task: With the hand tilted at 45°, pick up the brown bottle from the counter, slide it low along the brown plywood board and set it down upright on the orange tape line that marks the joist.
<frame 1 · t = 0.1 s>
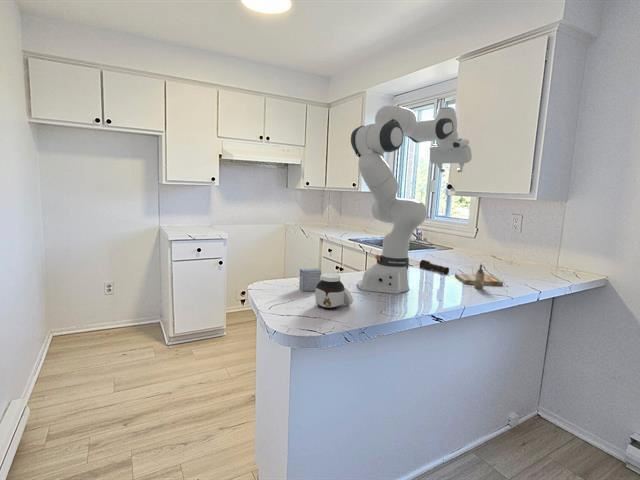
hand: (451, 172, 174), 52 cm above the worktop, tool tilted 20°, fingers open, 8 cm apart
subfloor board: (477, 281, 177), on the worktop
medicine box: (309, 290, 151), on the worktop
hand tool: (432, 271, 196), on the worktop
spread jar: (334, 306, 132), on the worktop
brown bottle: (478, 288, 164), on the worktop
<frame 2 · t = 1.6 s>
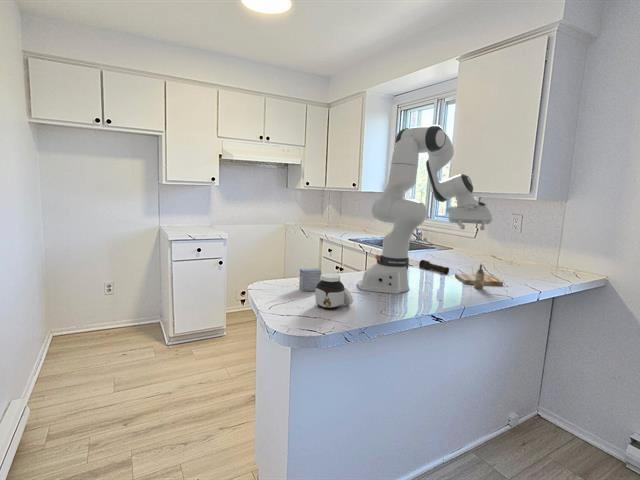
hand: (472, 229, 174), 25 cm above the worktop, tool tilted 45°, fingers open, 8 cm apart
nothing on the worktop moved.
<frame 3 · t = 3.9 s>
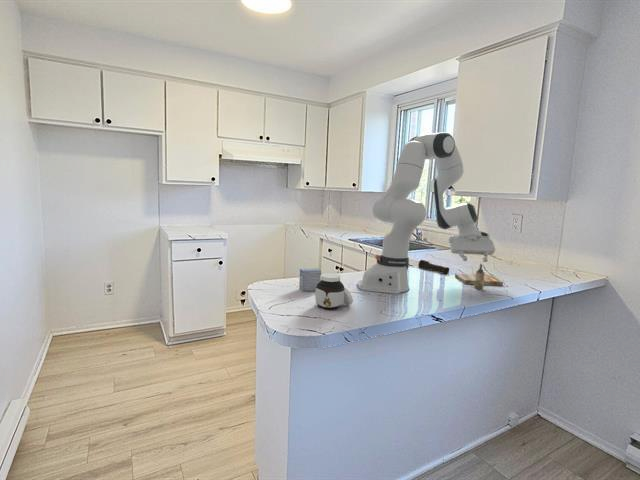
hand: (475, 260, 169), 11 cm above the worktop, tool tilted 45°, fingers open, 8 cm apart
nothing on the worktop moved.
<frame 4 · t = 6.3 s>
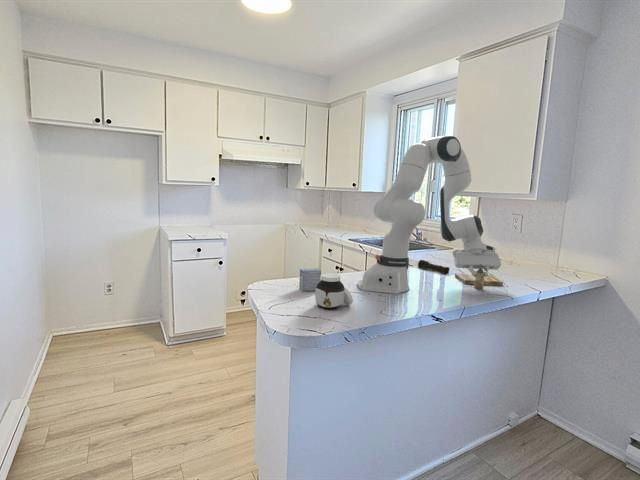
hand: (480, 275, 163), 6 cm above the worktop, tool tilted 45°, fingers closed on brown bottle, 4 cm apart
brown bottle: (478, 288, 164), on the worktop, touching gripper
everything else where it was.
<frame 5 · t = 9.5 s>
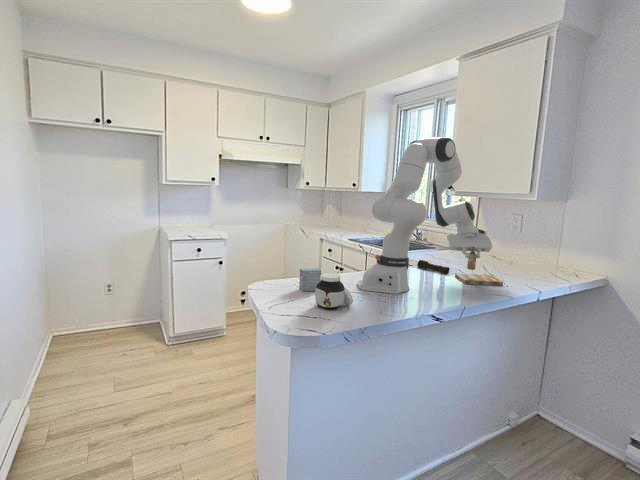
hand: (472, 257, 175), 12 cm above the worktop, tool tilted 45°, fingers closed on brown bottle, 4 cm apart
brown bottle: (471, 268, 176), point 6 cm above the worktop, touching gripper
everything else where it was.
when the fingers open (9 cm above the worktop, at t = 12.6 s): brown bottle drops 1 cm, resting on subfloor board.
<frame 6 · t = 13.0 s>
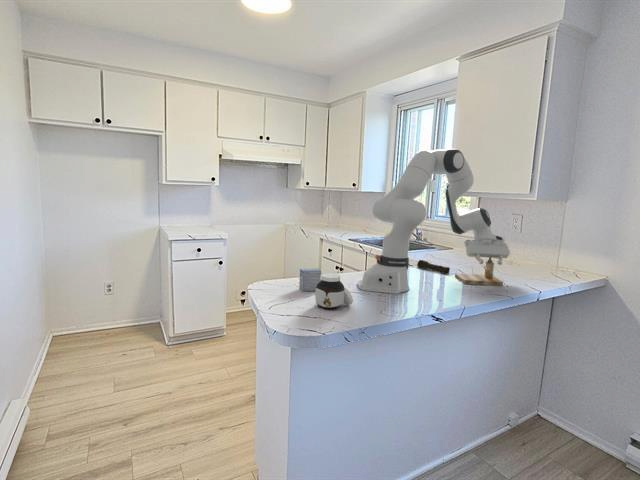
hand: (490, 263, 175), 9 cm above the worktop, tool tilted 45°, fingers open, 8 cm apart
brown bottle: (488, 277, 177), point 2 cm above the worktop, touching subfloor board
everything else where it was.
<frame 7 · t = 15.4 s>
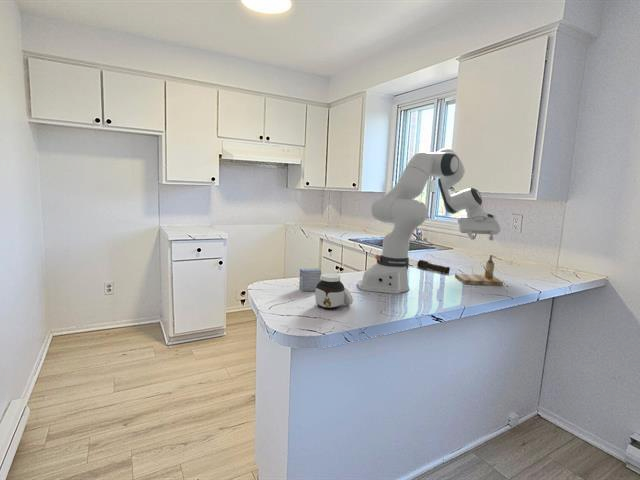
hand: (482, 239, 186), 19 cm above the worktop, tool tilted 45°, fingers open, 8 cm apart
nothing on the worktop moved.
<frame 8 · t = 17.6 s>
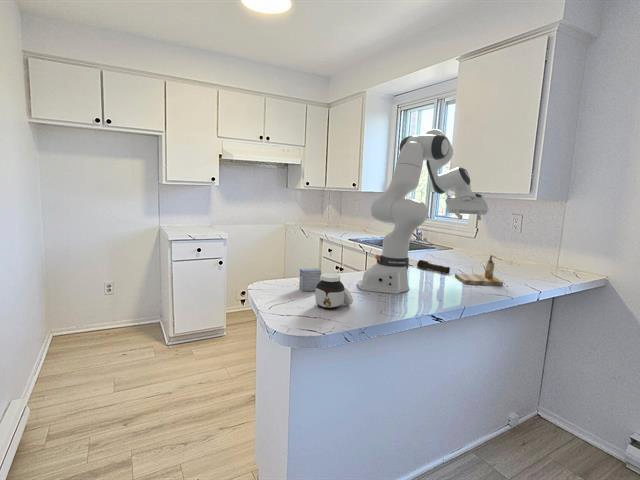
hand: (470, 219, 183), 29 cm above the worktop, tool tilted 45°, fingers open, 8 cm apart
at the end: brown bottle 0.0 cm from the target spot on the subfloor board, point 2.0 cm above the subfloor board's base; brown bottle tilted 0°; the gripper is holding nothing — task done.
